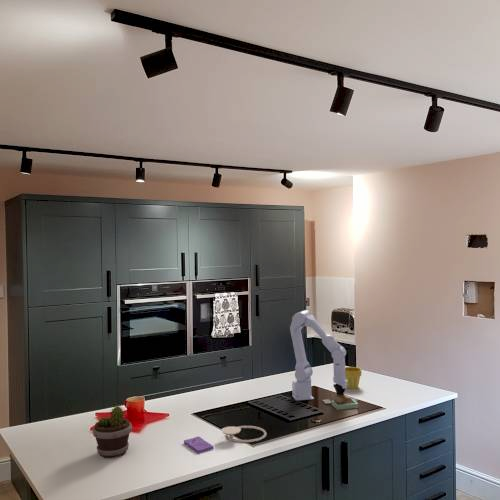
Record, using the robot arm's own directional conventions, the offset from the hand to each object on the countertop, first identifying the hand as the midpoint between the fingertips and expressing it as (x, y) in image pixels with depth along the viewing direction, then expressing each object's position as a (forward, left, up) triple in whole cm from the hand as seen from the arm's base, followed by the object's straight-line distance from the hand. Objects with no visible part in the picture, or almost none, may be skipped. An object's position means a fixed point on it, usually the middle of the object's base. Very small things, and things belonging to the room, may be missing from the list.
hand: (340, 399), depth 253 cm
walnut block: (0, -4, -1) cm, 5 cm away
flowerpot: (-105, -37, -2) cm, 112 cm away
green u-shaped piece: (0, -3, -1) cm, 3 cm away
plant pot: (+15, +24, -2) cm, 28 cm away
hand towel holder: (-54, -32, -2) cm, 63 cm away
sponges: (-72, -39, -2) cm, 82 cm away
